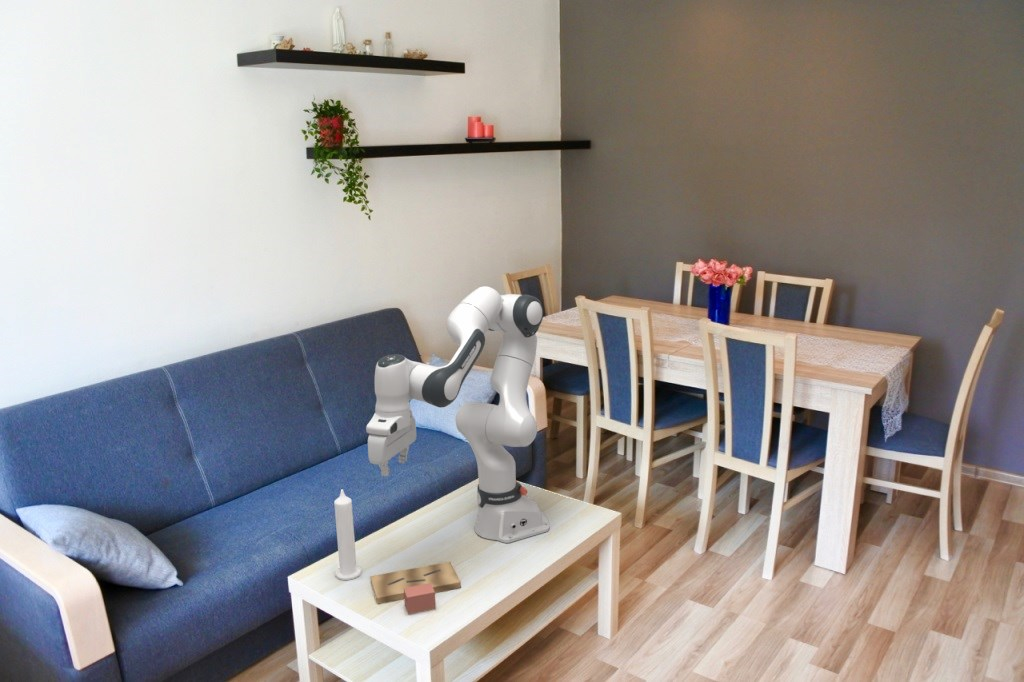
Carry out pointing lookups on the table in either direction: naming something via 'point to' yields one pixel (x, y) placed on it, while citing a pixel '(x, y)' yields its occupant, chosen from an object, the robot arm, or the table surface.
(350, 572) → the candle
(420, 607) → the block
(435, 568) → the plank
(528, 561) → the table surface
